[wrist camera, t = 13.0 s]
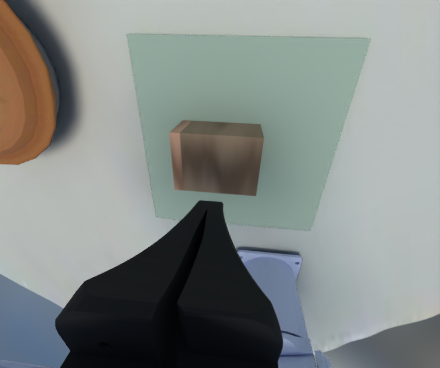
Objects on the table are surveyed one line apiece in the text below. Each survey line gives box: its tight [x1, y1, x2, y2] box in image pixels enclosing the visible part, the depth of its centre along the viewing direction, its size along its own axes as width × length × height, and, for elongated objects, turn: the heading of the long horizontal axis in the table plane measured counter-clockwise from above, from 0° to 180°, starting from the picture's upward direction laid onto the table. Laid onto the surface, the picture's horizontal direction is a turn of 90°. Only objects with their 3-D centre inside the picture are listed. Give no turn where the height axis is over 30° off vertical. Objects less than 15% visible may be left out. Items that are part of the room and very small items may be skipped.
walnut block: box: [169, 120, 264, 196], centre depth 18 cm, size 5×4×7 cm
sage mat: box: [127, 34, 371, 231], centre depth 20 cm, size 18×18×1 cm
